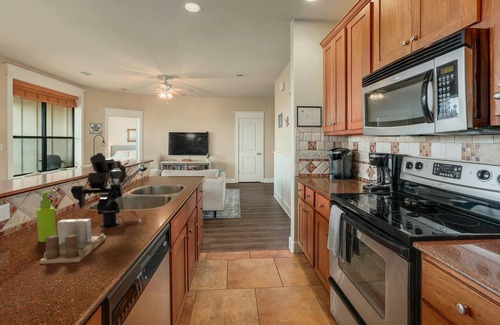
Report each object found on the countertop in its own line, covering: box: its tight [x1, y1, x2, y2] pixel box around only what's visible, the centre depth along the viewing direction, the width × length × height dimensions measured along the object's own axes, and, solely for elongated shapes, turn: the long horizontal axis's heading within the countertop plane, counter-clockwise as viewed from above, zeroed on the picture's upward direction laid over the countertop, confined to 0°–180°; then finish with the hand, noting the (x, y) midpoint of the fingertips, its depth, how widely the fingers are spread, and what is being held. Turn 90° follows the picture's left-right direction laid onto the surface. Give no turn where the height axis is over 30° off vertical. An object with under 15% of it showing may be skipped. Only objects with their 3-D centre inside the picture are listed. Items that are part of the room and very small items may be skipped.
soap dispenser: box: [36, 190, 57, 243], centre depth 108 cm, size 6×7×20 cm
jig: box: [39, 233, 107, 265], centre depth 98 cm, size 22×12×8 cm, turn 7°
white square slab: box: [56, 218, 92, 249], centre depth 97 cm, size 3×10×10 cm, turn 97°
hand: (93, 207), depth 105 cm, fingers open, 9 cm apart
